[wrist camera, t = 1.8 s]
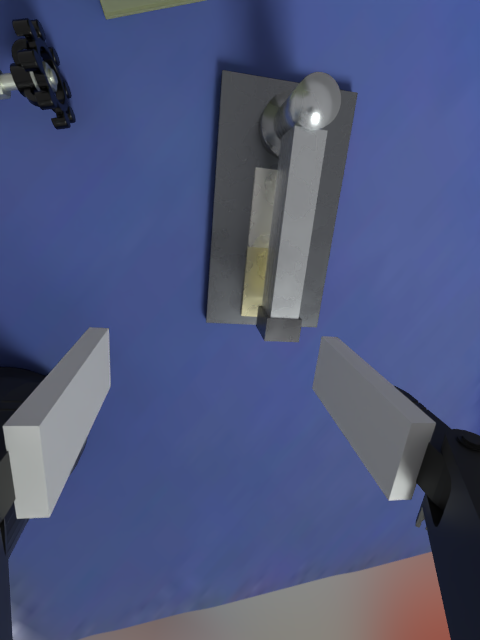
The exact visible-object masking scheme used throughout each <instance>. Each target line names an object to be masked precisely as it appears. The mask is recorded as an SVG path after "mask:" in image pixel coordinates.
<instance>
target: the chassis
mask: <svg viewBox="0 0 480 640" xmlns="http://www.w3.org/2000/svg"><path fill="white" fill-rule="evenodd" d="M299 84H300V83H296V82H290V81H284V80H278V79H272V78H266V77H261V76H255V75H249V74H243V73H237V72H231V71H225V70H222V75H221V91H220V107H219V123H218V138H217V154H216V170H215V186H214V201H213V217H212V233H211V249H210V264H209V280H208V296H207V312H206V323H229V324H253V325H256V322H257V313H258V306H262V299H263V291H264V282H265V274H266V265H267V257H268V248H269V240H270V231H271V223H272V214H273V205H274V197H275V188H276V180H277V171H278V163H279V154H280V146H281V140H280V139H279V138H278V137H277V135H276V133H275V131H274V117H275V114H276V112H277V110H278V109H279V107H280V106H281V105H282V104H283V103H284V101H285V100H286V99H287V98H288V97H289V96H290V94H291V93H292V92H293V91H294V90H295V88H296V87H297V86H298V85H299ZM340 93H341V105H340V109H339V112H338V114H337V116H336V117H335V119H334V120H333V121H332V122H331V123H330V124H328V125H327V126H325V127H324V128H322V129H320V130H327V131H328V132H327V138H326V145H325V151H324V157H323V164H322V170H321V177H320V183H319V190H318V196H317V203H316V209H315V215H314V222H313V228H312V235H311V241H310V248H309V254H308V261H307V267H306V274H305V280H304V286H303V293H302V299H301V306H300V312H299V317H300V318H301V319H302V324H301V327H317V323H318V317H319V312H320V306H321V300H322V294H323V289H324V283H325V277H326V271H327V266H328V260H329V254H330V249H331V243H332V237H333V231H334V226H335V220H336V214H337V208H338V203H339V197H340V191H341V186H342V180H343V174H344V168H345V163H346V157H347V151H348V145H349V140H350V134H351V128H352V123H353V117H354V111H355V105H356V100H357V94H358V93H355V92H349V91H343V90H340Z"/></svg>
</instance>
